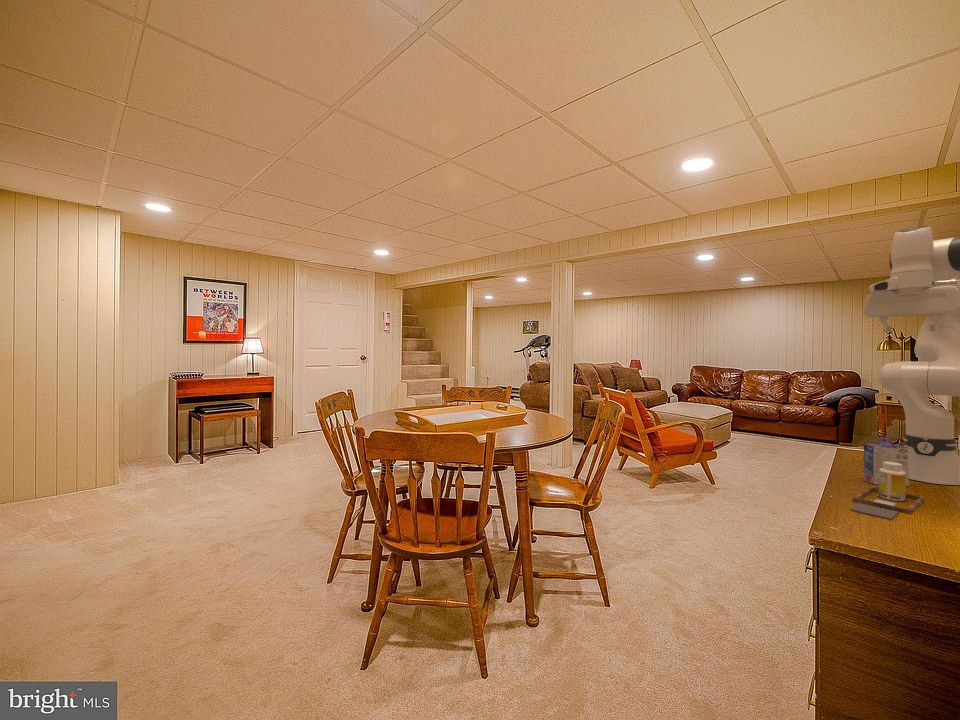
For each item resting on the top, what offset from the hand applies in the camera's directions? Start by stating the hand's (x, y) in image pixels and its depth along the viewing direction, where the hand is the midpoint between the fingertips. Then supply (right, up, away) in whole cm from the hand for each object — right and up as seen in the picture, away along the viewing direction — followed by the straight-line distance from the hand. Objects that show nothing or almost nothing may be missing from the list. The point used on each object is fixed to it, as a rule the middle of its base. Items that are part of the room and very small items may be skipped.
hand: (910, 331), depth 125 cm
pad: (-21, -48, -11) cm, 53 cm away
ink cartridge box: (+6, -48, +14) cm, 50 cm away
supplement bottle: (-6, -48, -1) cm, 49 cm away
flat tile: (-13, -49, -6) cm, 50 cm away
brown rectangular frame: (-9, -48, -3) cm, 49 cm away
